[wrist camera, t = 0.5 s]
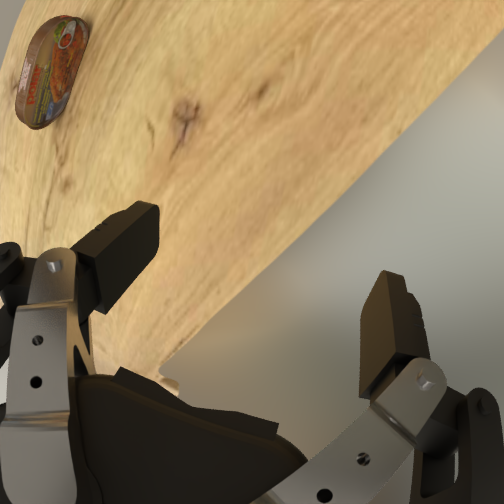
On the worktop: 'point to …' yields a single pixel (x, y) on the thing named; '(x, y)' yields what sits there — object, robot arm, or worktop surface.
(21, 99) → the tin
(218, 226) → the worktop surface
